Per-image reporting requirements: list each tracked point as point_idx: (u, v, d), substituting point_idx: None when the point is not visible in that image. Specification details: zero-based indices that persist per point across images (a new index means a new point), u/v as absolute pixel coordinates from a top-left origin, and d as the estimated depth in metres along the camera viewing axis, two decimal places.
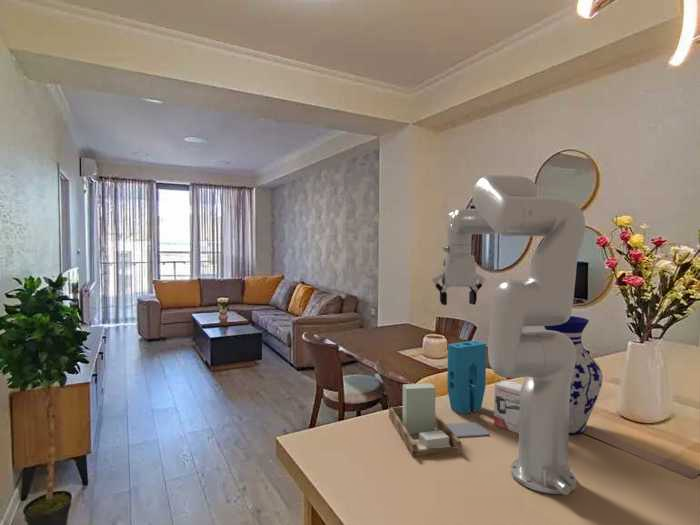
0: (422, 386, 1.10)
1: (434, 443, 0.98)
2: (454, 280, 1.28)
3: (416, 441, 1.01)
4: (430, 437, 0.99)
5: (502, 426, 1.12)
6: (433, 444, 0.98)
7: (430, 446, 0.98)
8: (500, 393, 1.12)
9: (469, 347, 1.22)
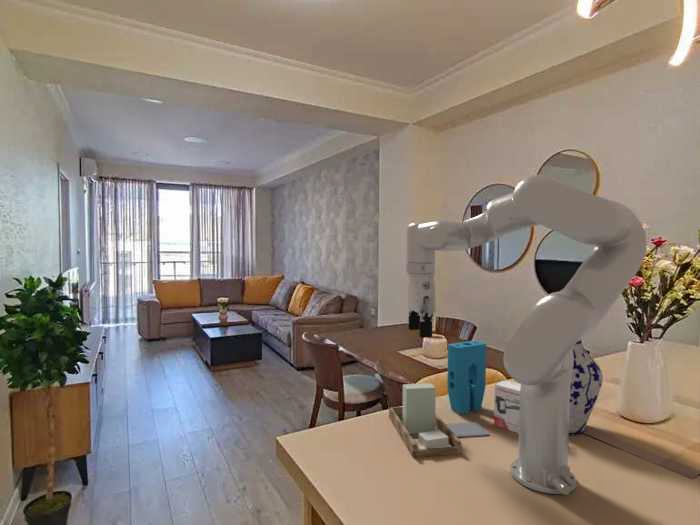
0: (422, 386, 1.10)
1: (434, 444, 0.98)
2: None
3: (416, 441, 1.01)
4: (429, 437, 0.99)
5: (502, 426, 1.12)
6: (433, 444, 0.98)
7: (430, 446, 0.97)
8: (500, 393, 1.12)
9: (469, 347, 1.22)
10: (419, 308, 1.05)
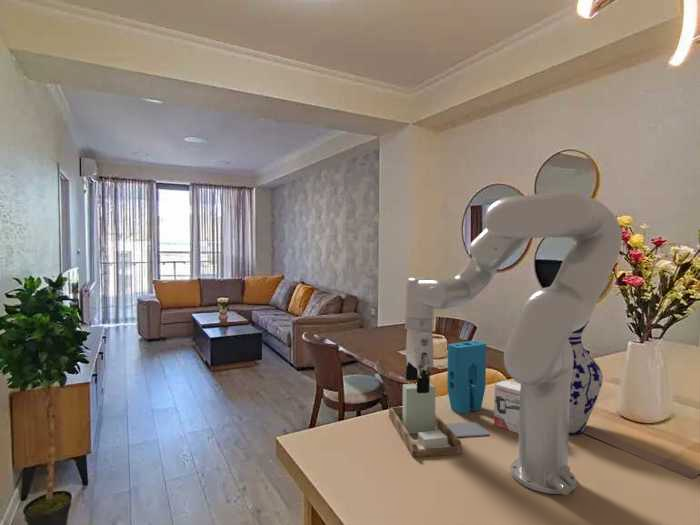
0: None
1: (432, 443, 0.98)
2: None
3: (416, 441, 1.01)
4: (428, 437, 0.99)
5: (502, 426, 1.12)
6: (431, 444, 0.98)
7: (428, 446, 0.98)
8: (500, 393, 1.12)
9: (469, 347, 1.22)
10: (417, 364, 1.05)
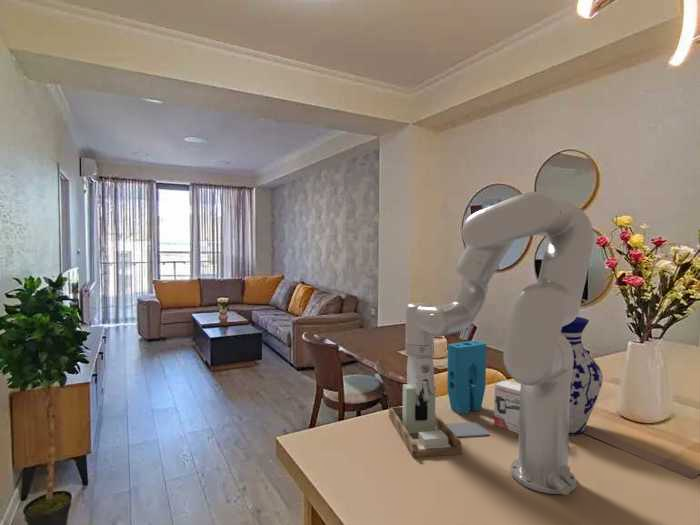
0: None
1: (432, 443, 0.98)
2: None
3: (416, 441, 1.01)
4: (428, 437, 0.99)
5: (502, 426, 1.12)
6: (431, 444, 0.98)
7: (428, 446, 0.98)
8: (500, 393, 1.12)
9: (469, 347, 1.22)
10: (418, 391, 1.05)
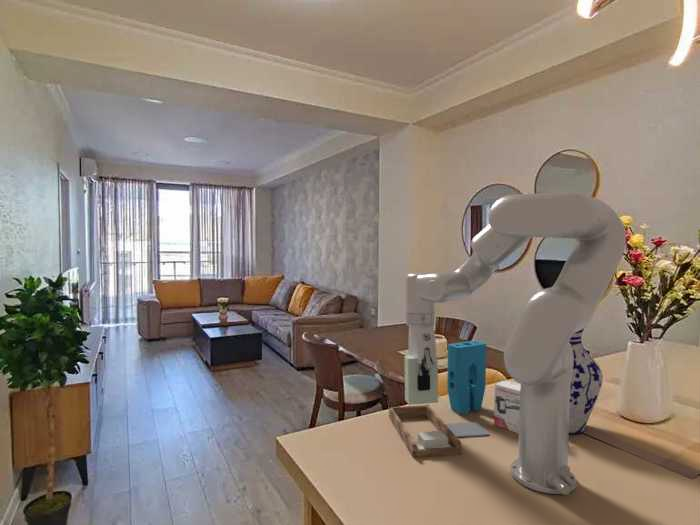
0: None
1: (432, 444, 0.98)
2: None
3: (416, 441, 1.01)
4: (428, 437, 0.99)
5: (502, 426, 1.12)
6: (431, 444, 0.98)
7: (428, 446, 0.97)
8: (500, 393, 1.12)
9: (469, 347, 1.22)
10: (420, 360, 1.05)
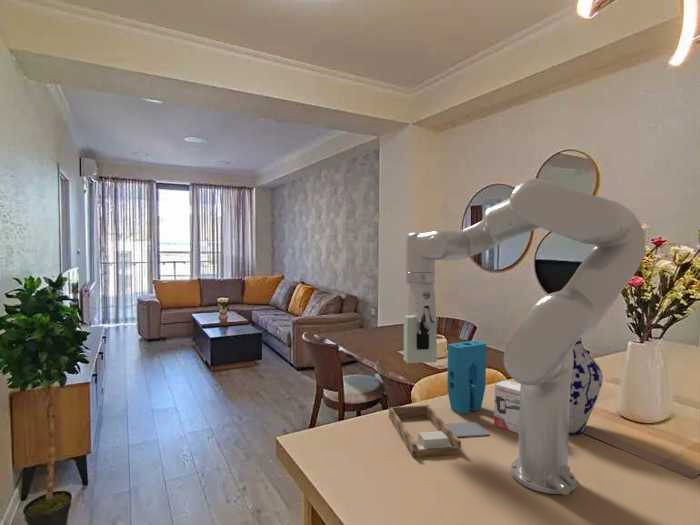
0: None
1: (432, 444, 0.98)
2: None
3: (416, 441, 1.01)
4: (428, 437, 0.99)
5: (502, 426, 1.12)
6: (431, 444, 0.98)
7: (428, 446, 0.98)
8: (500, 393, 1.12)
9: (469, 347, 1.22)
10: (419, 318, 1.04)
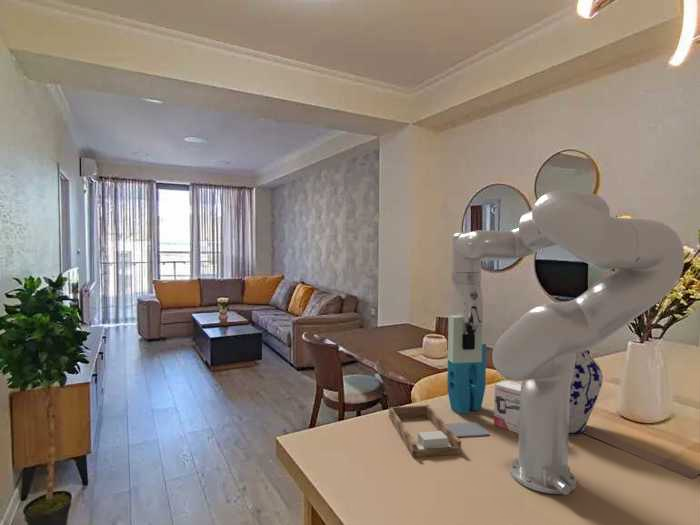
0: None
1: (432, 444, 0.98)
2: None
3: (416, 441, 1.01)
4: (428, 437, 0.99)
5: (502, 426, 1.12)
6: (431, 444, 0.98)
7: (428, 446, 0.97)
8: (500, 393, 1.12)
9: None
10: (467, 318, 1.04)
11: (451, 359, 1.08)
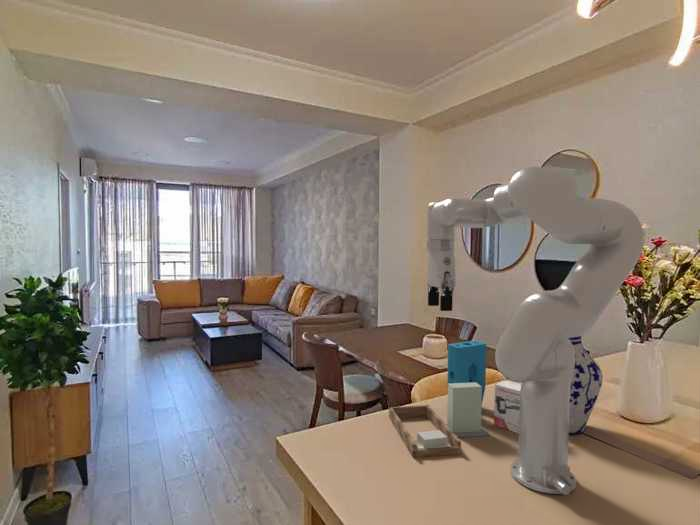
0: (468, 385, 1.09)
1: (432, 443, 0.98)
2: None
3: (415, 440, 1.01)
4: (428, 437, 0.99)
5: (502, 426, 1.12)
6: (431, 444, 0.98)
7: (428, 446, 0.98)
8: (500, 393, 1.12)
9: (469, 347, 1.22)
10: (440, 283, 1.09)
11: (450, 428, 1.09)
